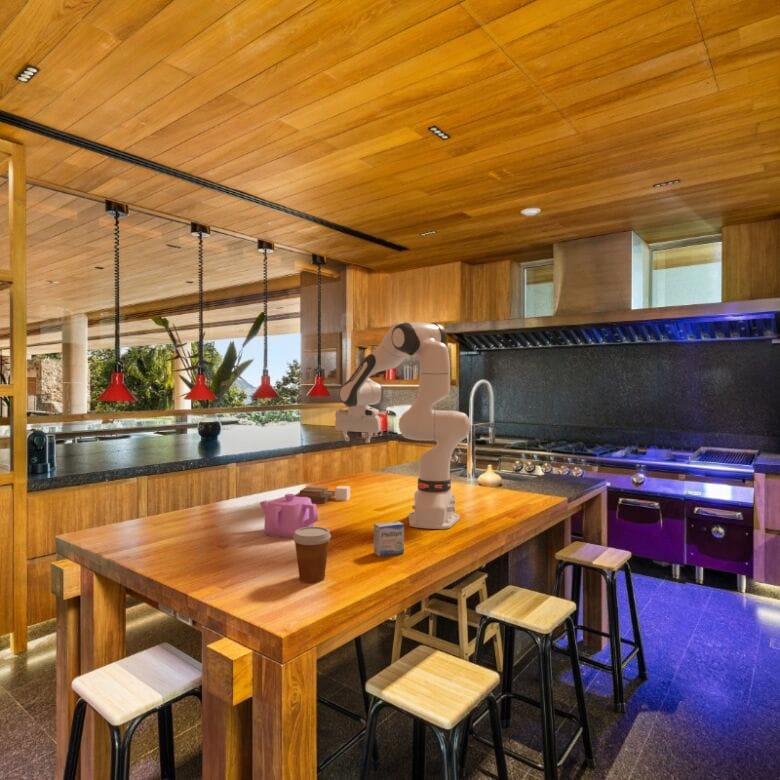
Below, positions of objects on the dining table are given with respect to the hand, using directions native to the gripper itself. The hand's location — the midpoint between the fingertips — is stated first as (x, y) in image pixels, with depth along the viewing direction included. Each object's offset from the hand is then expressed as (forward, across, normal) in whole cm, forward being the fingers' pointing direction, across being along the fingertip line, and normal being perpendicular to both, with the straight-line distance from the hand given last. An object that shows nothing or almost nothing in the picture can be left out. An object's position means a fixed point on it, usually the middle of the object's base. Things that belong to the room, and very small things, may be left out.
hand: (357, 441), depth 231 cm
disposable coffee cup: (+17, +22, -96) cm, 100 cm away
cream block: (+22, -2, -12) cm, 25 cm away
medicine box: (+18, +36, -72) cm, 82 cm away
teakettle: (+20, -2, -60) cm, 63 cm away
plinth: (+23, -14, -14) cm, 30 cm away
